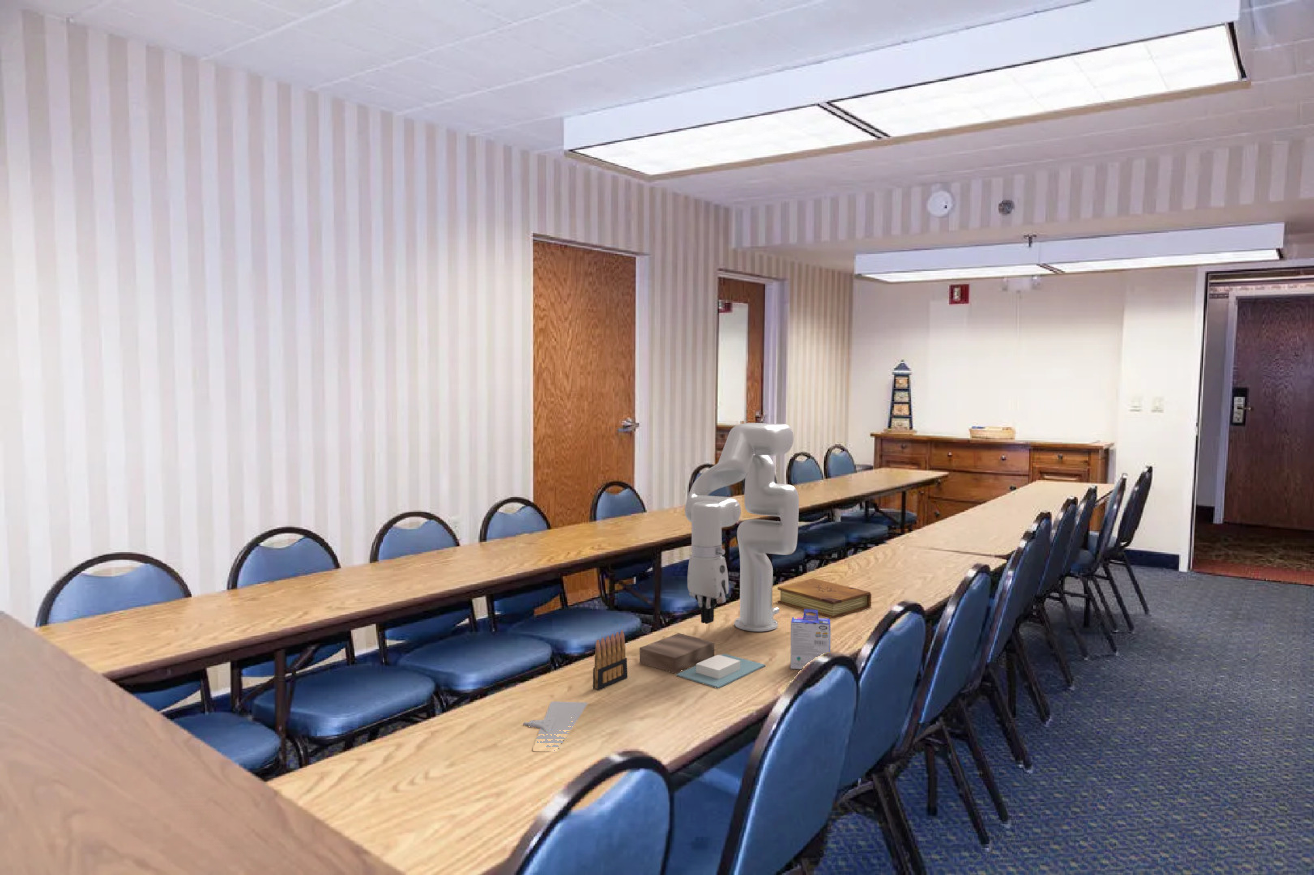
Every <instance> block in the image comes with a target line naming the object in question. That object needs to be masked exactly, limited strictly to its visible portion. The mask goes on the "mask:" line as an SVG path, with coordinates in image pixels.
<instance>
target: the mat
mask: <svg viewBox="0 0 1314 875" xmlns="http://www.w3.org/2000/svg"><path fill="white" fill-rule="evenodd" d="M720 655H721V656H725V657H729V658H732V659H736V660H739V661H740V670H738V671H736V672H733V673H731V674H729V675H727V676H725V677H722V678H720V679H716V678H713V677H710V676H706V675H703V674H700V673H696V665H695V666H692V667H690V668H688V669H685V670H683V671H681V672H678V673H676V674H675V676H676V675H677V676H676V677H678V676H680V677H679V678H682V677H683V678H682V679H685V680H688V679H690V680H689V681H692V680H693V681H692V682H695V683H698V684H701V683H704V684H703V685H705V684H706V686H708V685H709V686H708V687H712V688H715V687H716V689H718V688H719V689H720V687H721V688H723V687H725V686H727V685H730V684H731V683H733V682H735V681H738V680H739V679H743V678H744V677H746V676H748V675H751V673H754V672H757V671H758V670H760V669H762V668H764V667H766V664H765V663H761V662H756V661H755V660H749V659H745V658H742V657H738V656H735V655H731V654H727V653H722V654H720Z"/></svg>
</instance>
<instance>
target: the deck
mask: <svg viewBox="0 0 1314 875" xmlns="http://www.w3.org/2000/svg"><path fill="white" fill-rule="evenodd" d="M714 656H715V641H710V640H707V639H704V638H700V637H695V636H691V635H688V634H684V633H679V632H678V633H676V634H673V635H670V636H667V637H664V638H662V639H659V640H657V641H654V642H651V643H648V644H646V645H642V646H640V647H639V664H642V665H646V666H648V667H651V666H653V667H652V668H655V669H658V668H659V669H658V670H661V669H662V670H661V671H665V670H667V671H666V672H668V671H670V672H669V673H671V672H673V673H672V674H675V673H676V674H678V673H680V671H681V670H683V671H685V670H687V668H688V669H689V667H690V668H692V667H694V666H696V664H697V663H699V662H702V661H704V660H706V659H709V658H711V657H714ZM691 666H692V667H691ZM681 672H682V671H681Z"/></svg>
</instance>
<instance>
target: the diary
mask: <svg viewBox="0 0 1314 875" xmlns="http://www.w3.org/2000/svg"><path fill="white" fill-rule="evenodd" d="M777 590H778V591H779V592H780V593H779V594H780V596H779V599H780V600H777V603H779V604H781V605H785V606H789V607H793V608H796V609H800V610H802V611H804V609H811V610H818V615H821V616H824V617H828V618H831V619H836V618H840V617H842V616H846V615H849V614H853V613H856V612H859V611H863V610H867V609H870V608H871V607H872V593H871V592H870V591H867V590H864V589H860V588H854V587H850V586H846V585H843V584H837V583H834V582H830V581H826V580H823V579H817V578H809V579H806V580H801V581H797V582H793V583H790V584H789V583H788V584H784V585H781V586H777Z"/></svg>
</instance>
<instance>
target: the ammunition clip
mask: <svg viewBox="0 0 1314 875" xmlns="http://www.w3.org/2000/svg"><path fill="white" fill-rule="evenodd" d="M595 642H596V643H595V652H594V667H593V669H592V689H593V690H595V691H601V690H603V689H606V688H607V687H610V686H612V685H615V684H616V683H619V682H621V681H624V680H626V679H628V658H627V657H626V642H625V634H624V630H623V629H621V631H620V634H619V632H618V631H617V632H616V633H615V635H614V633H612V634H611V635H610V636H609V635H607V636H606V639H605V638H604V637H602V638H601V640H599V639H596V641H595Z"/></svg>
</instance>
